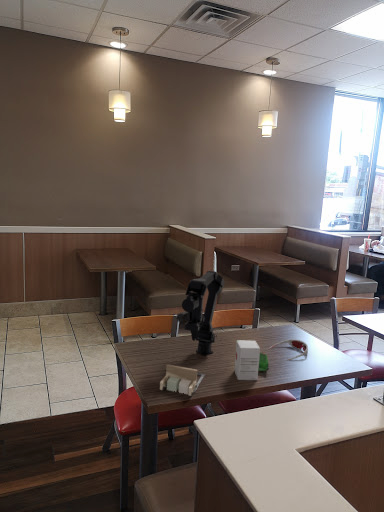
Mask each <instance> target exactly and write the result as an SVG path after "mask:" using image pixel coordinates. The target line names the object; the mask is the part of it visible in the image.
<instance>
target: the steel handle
mask: <svg viewBox="0 0 384 512" xmlns="http://www.w3.org/2000/svg"><path fill="white" fill-rule="evenodd" d="M197 376H200V377H199V379H197V388H195V390H194V392H193V393H196V391H197V389H198V387H199V386H200V384H201V382H202V381H203V379H204V378H205V374H204V373H199V372H197ZM164 388H167V384H166V386H165V387H164Z"/></svg>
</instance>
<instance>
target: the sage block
mask: <svg viewBox="0 0 384 512" xmlns="http://www.w3.org/2000/svg"><path fill="white" fill-rule="evenodd" d="M179 383H180V379H179V378H174V377H170V378H169V380H168V381H167V387H166V391H170V392H174V391H175V393H176V392H177V391H179Z"/></svg>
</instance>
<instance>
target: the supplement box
mask: <svg viewBox="0 0 384 512" xmlns="http://www.w3.org/2000/svg"><path fill="white" fill-rule="evenodd" d="M235 344H236V345H235V356H234V357H235V359H234V373H235V376H236V378H237V380H238V381H258V378H259V376H258V375H259V371H258V368H259V356H260V353H261V347H260V346H259V344H258V343H257V341H256V340H245V339H242V340H241V339H239V340H236V343H235Z"/></svg>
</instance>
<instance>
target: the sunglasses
mask: <svg viewBox="0 0 384 512" xmlns="http://www.w3.org/2000/svg"><path fill="white" fill-rule="evenodd" d="M282 344H288V345H289V346H291V348H295V349H298V350H302V351H303V352H302V353H300V354H298V355H296V356H294V357H289V358H287V359H285V361H291V360H293V359H297V358H300V357H303V356H308V354H309V353H308V351H309V347H308V344H307V343H306V342H305V341H302V340H300V339H296V338H295V339H293V338H292V339H286V340H282V341H279V342H277V343H274V344H273V345H271V346H270V347H269V348H268V349H272V348H274V347H275V346H278V345H282Z"/></svg>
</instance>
